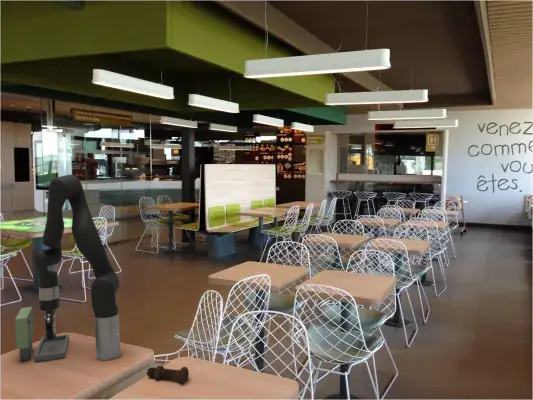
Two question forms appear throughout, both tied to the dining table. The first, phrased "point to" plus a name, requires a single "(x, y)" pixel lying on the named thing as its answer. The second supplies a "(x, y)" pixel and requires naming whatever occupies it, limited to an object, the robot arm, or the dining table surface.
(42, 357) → the parts tray
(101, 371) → the dining table surface
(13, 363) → the dining table surface
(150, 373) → the bolt
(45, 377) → the dining table surface
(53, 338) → the pin
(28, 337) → the control unit
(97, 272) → the robot arm
